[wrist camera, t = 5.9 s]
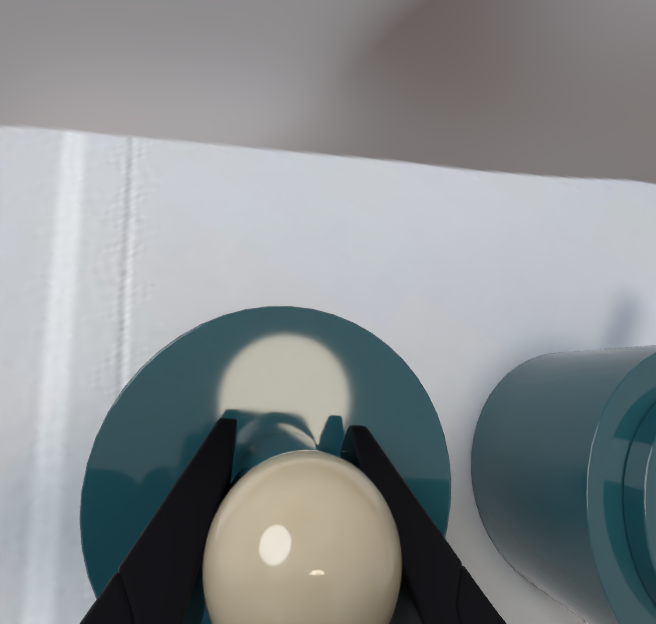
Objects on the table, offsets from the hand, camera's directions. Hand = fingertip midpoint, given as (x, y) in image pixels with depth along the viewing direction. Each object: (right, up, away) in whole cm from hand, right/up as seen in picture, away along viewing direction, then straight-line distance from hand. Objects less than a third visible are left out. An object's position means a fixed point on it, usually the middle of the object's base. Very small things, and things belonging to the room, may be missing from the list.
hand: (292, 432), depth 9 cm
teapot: (+18, -5, +13) cm, 23 cm away
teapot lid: (0, -2, +1) cm, 2 cm away
